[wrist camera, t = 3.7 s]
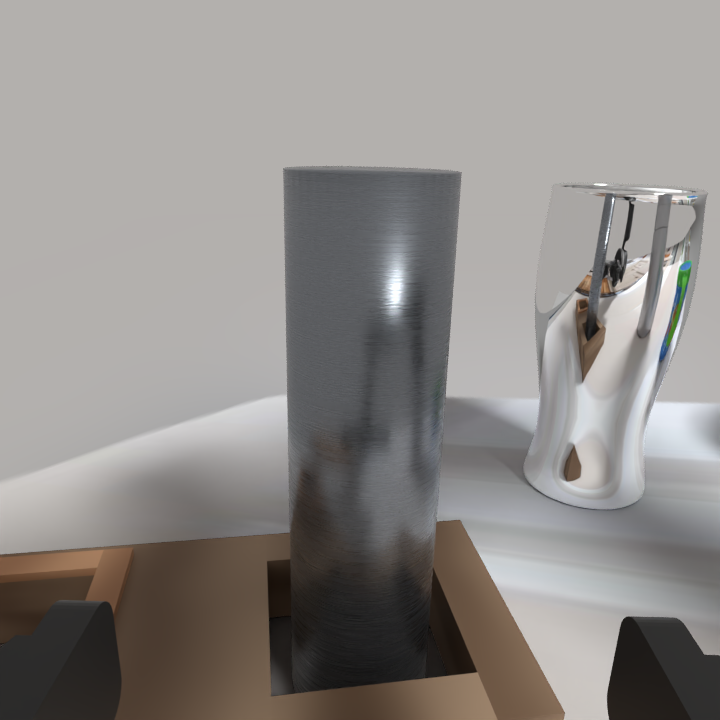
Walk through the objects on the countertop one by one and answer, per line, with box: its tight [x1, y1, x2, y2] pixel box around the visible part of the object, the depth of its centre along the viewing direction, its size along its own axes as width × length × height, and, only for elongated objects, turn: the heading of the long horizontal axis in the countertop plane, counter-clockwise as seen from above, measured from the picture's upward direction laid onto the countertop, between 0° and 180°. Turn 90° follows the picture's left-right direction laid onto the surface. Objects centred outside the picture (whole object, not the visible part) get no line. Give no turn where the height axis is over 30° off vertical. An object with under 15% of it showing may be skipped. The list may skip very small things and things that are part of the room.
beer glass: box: [523, 183, 708, 510], centre depth 31 cm, size 7×7×15 cm
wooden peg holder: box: [0, 520, 565, 720], centre depth 19 cm, size 21×9×3 cm, turn 99°
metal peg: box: [283, 166, 461, 693], centre depth 18 cm, size 4×4×16 cm
